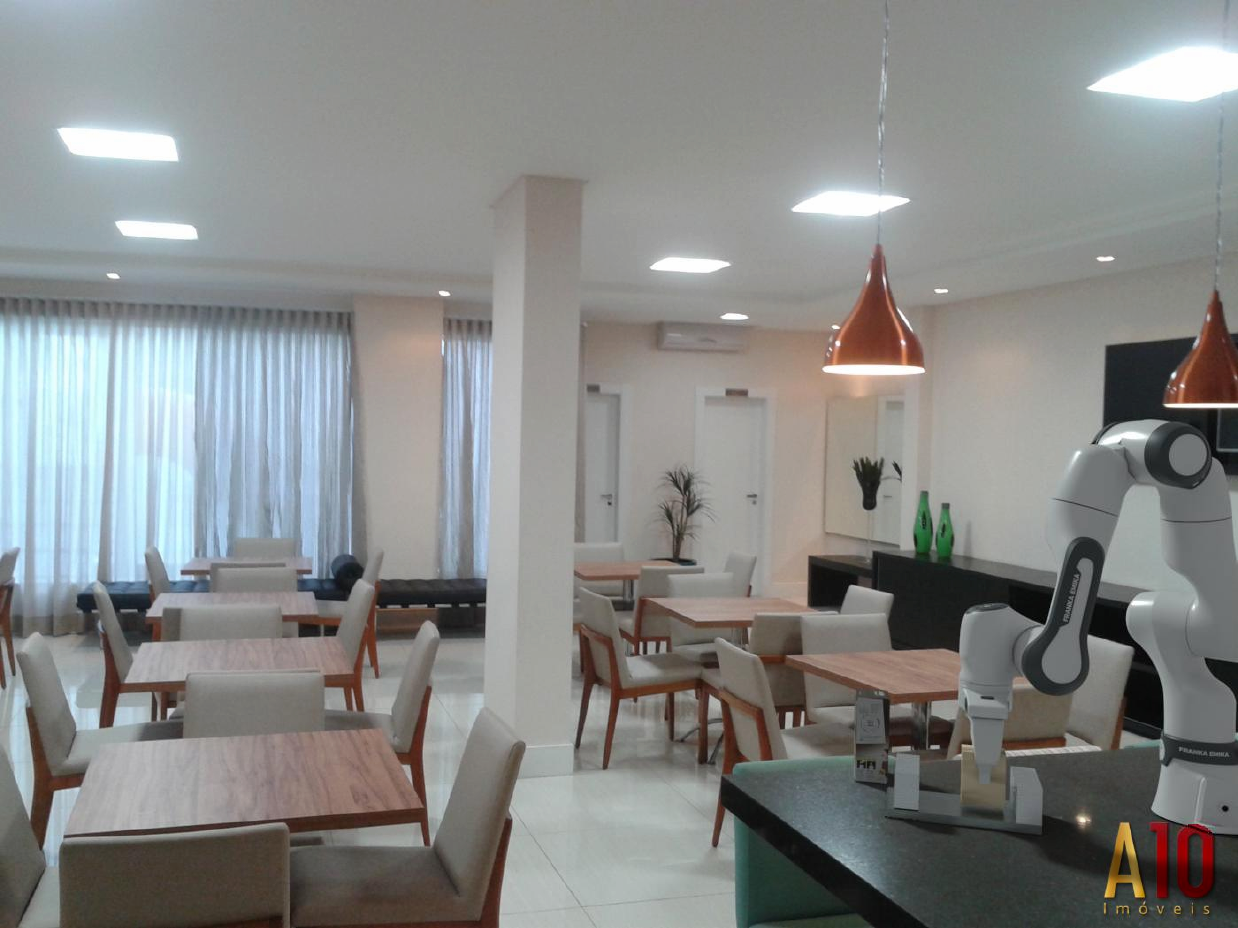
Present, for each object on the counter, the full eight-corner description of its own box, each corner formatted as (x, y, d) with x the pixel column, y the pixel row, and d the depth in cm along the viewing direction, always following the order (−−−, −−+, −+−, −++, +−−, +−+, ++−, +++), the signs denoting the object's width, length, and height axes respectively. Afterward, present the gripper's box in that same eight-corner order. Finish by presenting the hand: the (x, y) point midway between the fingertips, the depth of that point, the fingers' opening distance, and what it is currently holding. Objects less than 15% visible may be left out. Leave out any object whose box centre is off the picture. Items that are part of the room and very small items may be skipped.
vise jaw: (918, 788, 192) (919, 755, 192) (918, 809, 179) (919, 774, 179) (895, 786, 193) (896, 753, 193) (893, 807, 180) (894, 771, 180)
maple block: (960, 795, 186) (961, 744, 186) (1002, 800, 184) (1004, 748, 184) (961, 804, 181) (962, 751, 181) (1005, 808, 179) (1006, 755, 179)
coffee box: (888, 784, 200) (890, 698, 200) (853, 781, 201) (856, 696, 202) (886, 771, 209) (888, 689, 209) (852, 768, 210) (855, 687, 210)
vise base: (1033, 811, 186) (1034, 768, 186) (1041, 834, 174) (1042, 788, 174) (887, 795, 193) (888, 753, 193) (884, 816, 181) (885, 772, 181)
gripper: (963, 685, 194) (961, 760, 193) (968, 708, 174) (966, 792, 174) (1000, 687, 192) (998, 764, 192) (1009, 711, 172) (1007, 796, 172)
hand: (983, 778), depth 183 cm, fingers closed on maple block, 5 cm apart
